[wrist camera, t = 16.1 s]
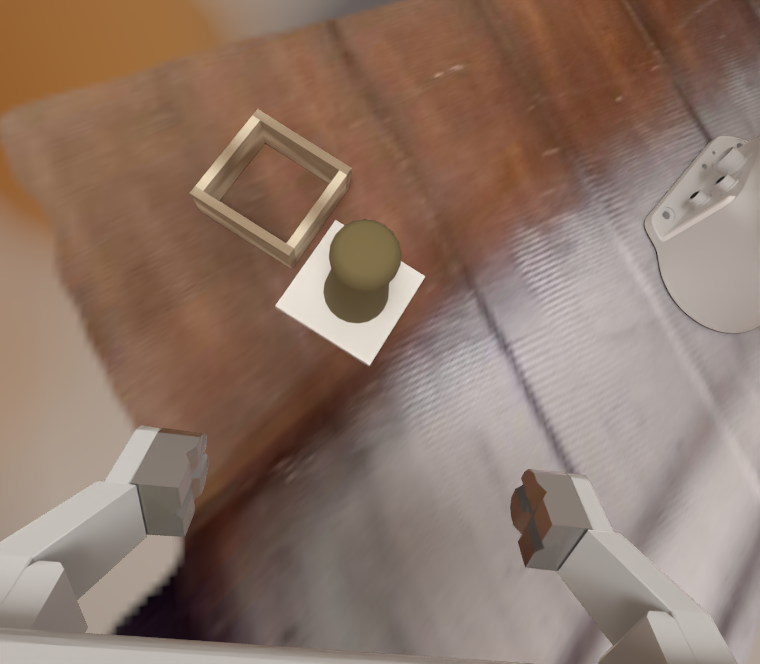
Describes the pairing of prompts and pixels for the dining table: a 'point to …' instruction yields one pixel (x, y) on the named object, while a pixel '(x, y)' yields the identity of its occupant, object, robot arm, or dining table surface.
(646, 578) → the robot arm
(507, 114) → the dining table surface
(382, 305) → the cork
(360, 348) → the ceramic tile
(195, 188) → the frame
